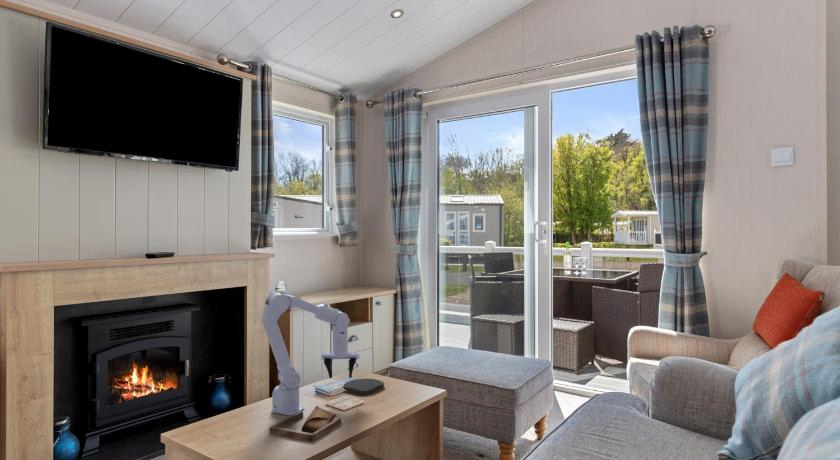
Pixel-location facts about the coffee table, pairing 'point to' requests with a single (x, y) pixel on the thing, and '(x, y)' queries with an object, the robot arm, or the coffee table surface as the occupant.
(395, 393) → the coffee table surface
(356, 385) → the media streaming box
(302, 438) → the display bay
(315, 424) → the sunglasses case
